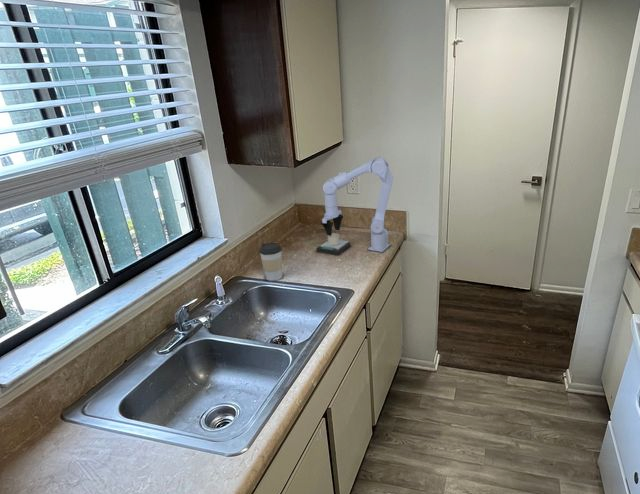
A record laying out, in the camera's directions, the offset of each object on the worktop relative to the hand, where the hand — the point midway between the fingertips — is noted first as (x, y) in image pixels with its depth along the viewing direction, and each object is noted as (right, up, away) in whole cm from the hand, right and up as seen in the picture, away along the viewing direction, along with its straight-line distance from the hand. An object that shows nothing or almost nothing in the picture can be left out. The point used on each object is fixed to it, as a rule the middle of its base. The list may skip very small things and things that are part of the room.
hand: (333, 232), depth 211 cm
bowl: (0, -5, +2) cm, 6 cm away
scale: (0, -8, +3) cm, 9 cm away
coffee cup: (-21, -20, -25) cm, 38 cm away
